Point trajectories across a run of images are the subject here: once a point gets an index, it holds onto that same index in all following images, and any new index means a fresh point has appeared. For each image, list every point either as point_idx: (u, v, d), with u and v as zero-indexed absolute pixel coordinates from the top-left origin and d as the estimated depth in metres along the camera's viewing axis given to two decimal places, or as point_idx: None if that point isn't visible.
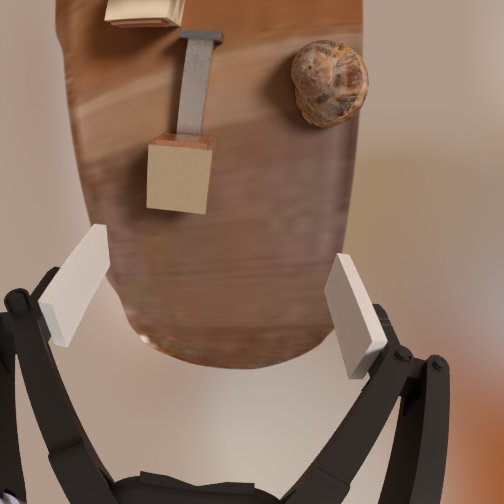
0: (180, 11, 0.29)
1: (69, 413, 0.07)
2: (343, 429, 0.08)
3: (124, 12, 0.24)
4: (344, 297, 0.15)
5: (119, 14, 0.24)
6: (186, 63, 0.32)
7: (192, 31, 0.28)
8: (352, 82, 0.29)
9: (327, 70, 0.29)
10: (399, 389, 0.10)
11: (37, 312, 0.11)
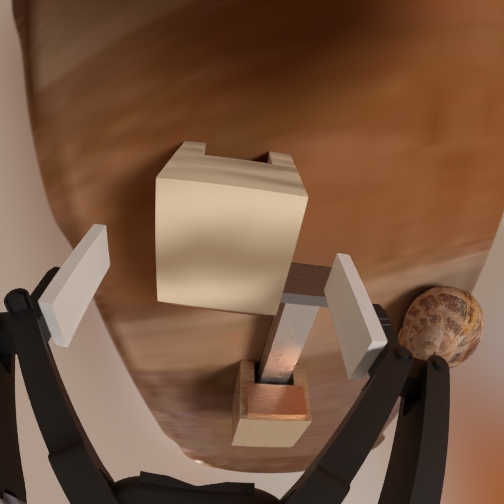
0: None
1: (69, 413, 0.07)
2: (343, 429, 0.08)
3: (195, 296, 0.18)
4: (344, 296, 0.15)
5: (186, 297, 0.18)
6: (282, 319, 0.26)
7: (301, 296, 0.23)
8: (467, 356, 0.24)
9: (450, 354, 0.24)
10: (399, 389, 0.10)
11: (37, 312, 0.11)
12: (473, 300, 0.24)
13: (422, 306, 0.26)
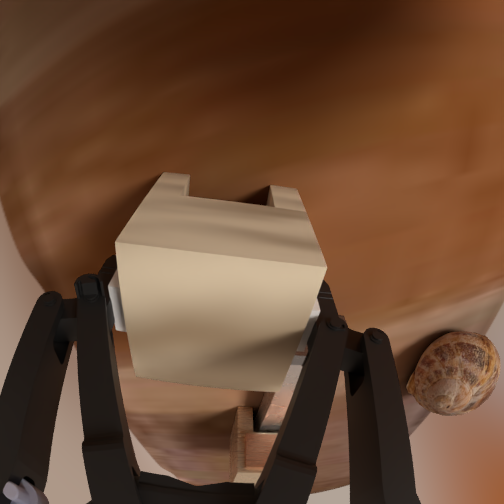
0: None
1: (116, 407, 0.08)
2: (293, 411, 0.09)
3: (180, 375, 0.14)
4: None
5: (169, 375, 0.14)
6: None
7: None
8: None
9: (464, 405, 0.20)
10: (340, 359, 0.11)
11: (104, 297, 0.12)
12: (491, 346, 0.21)
13: (437, 356, 0.22)
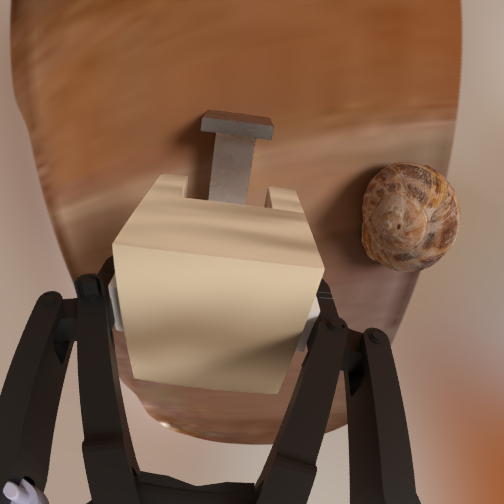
0: None
1: (116, 407, 0.08)
2: (292, 411, 0.09)
3: (178, 376, 0.14)
4: None
5: (167, 377, 0.14)
6: (214, 169, 0.24)
7: (224, 122, 0.20)
8: (445, 242, 0.22)
9: (420, 230, 0.22)
10: (339, 359, 0.11)
11: (105, 297, 0.12)
12: (439, 174, 0.22)
13: (378, 179, 0.24)
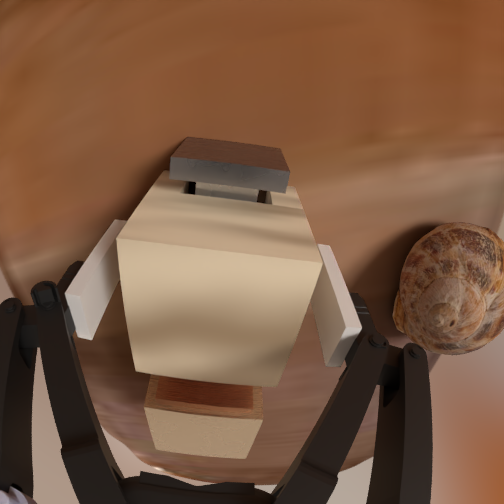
0: None
1: (87, 409, 0.07)
2: (324, 421, 0.09)
3: (179, 369, 0.14)
4: (323, 285, 0.16)
5: (168, 370, 0.14)
6: None
7: (208, 165, 0.12)
8: (500, 329, 0.15)
9: (477, 324, 0.14)
10: (377, 376, 0.10)
11: (63, 304, 0.11)
12: (501, 240, 0.15)
13: (426, 249, 0.17)
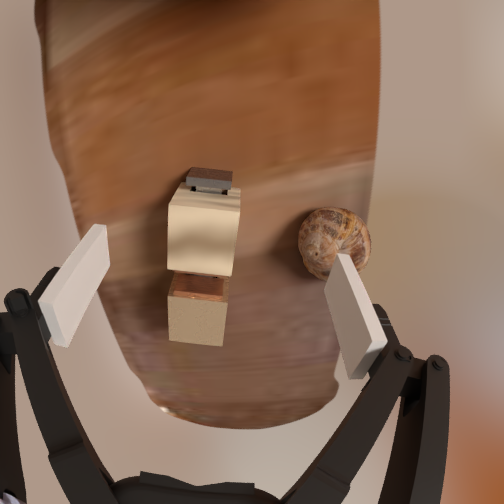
0: None
1: (69, 413, 0.07)
2: (343, 429, 0.08)
3: (187, 265, 0.35)
4: (344, 297, 0.15)
5: (182, 266, 0.35)
6: None
7: (200, 179, 0.34)
8: (355, 262, 0.36)
9: (333, 255, 0.35)
10: (399, 389, 0.10)
11: (37, 312, 0.11)
12: (352, 214, 0.36)
13: (306, 221, 0.38)
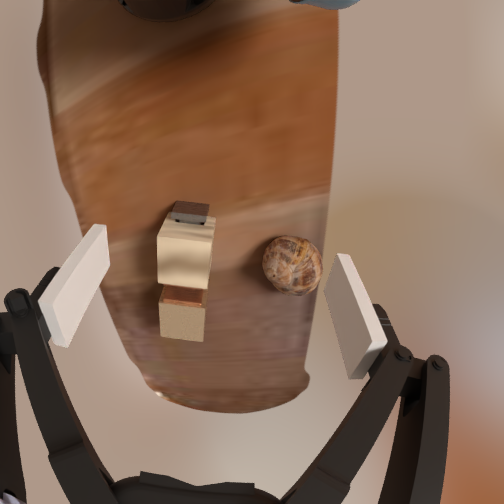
0: (211, 256, 0.50)
1: (69, 413, 0.07)
2: (343, 429, 0.08)
3: (173, 280, 0.45)
4: (344, 296, 0.15)
5: (169, 281, 0.45)
6: None
7: (182, 214, 0.43)
8: (306, 282, 0.46)
9: (287, 277, 0.45)
10: (399, 389, 0.10)
11: (37, 312, 0.11)
12: (305, 243, 0.46)
13: (268, 247, 0.48)
